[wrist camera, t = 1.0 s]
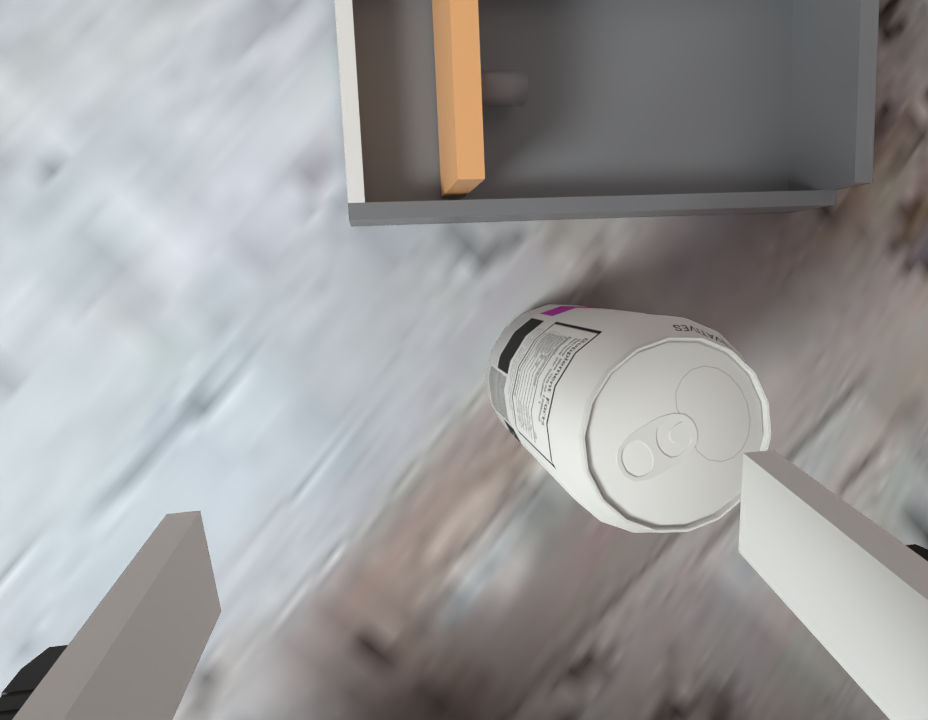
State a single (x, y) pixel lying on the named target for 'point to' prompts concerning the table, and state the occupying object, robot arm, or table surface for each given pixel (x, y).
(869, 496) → the table surface
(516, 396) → the supplement can
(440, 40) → the pusher
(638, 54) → the pusher lane
